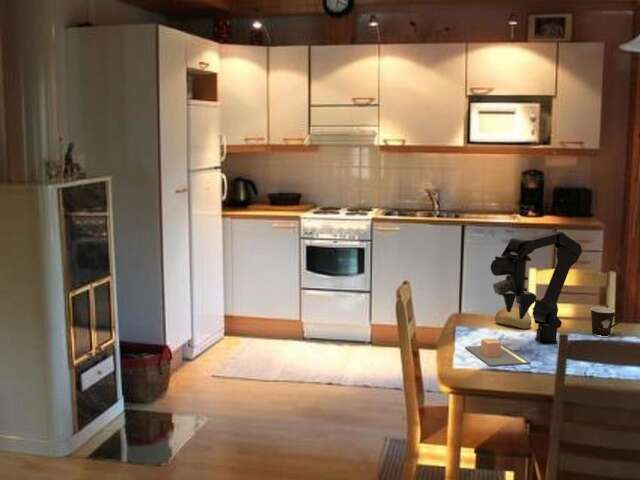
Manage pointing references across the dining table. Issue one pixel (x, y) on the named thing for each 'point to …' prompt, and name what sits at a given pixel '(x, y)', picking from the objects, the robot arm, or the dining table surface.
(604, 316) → the coffee mug
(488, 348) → the terracotta block
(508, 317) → the bread roll
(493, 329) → the dining table surface
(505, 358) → the mat
